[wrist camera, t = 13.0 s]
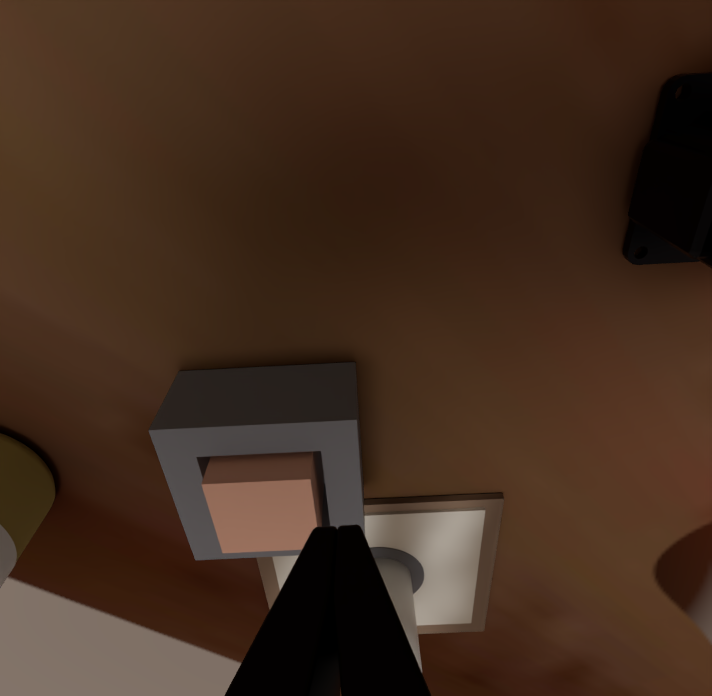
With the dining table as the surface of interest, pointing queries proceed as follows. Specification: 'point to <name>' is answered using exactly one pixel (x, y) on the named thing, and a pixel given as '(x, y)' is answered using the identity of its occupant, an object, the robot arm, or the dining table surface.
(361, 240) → the dining table surface
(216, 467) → the button
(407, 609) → the grey cylinder
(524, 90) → the dining table surface
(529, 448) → the dining table surface
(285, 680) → the robot arm
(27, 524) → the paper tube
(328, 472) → the button housing
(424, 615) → the white flat square panel
